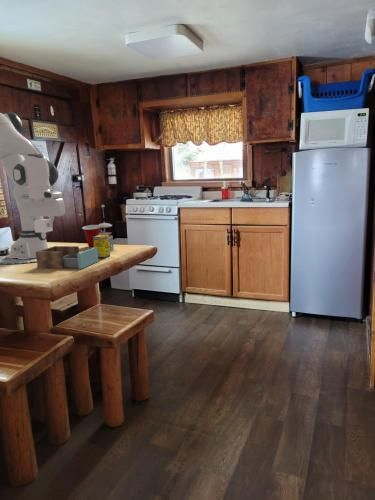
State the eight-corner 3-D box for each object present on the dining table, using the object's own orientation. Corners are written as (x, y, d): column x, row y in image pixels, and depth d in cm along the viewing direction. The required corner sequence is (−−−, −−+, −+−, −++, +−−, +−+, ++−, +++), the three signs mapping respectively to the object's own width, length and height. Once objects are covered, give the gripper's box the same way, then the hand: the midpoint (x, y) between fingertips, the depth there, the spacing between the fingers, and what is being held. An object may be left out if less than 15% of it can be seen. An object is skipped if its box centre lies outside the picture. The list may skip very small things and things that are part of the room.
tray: (55, 268, 172) (54, 253, 171) (74, 260, 186) (72, 247, 185) (81, 268, 168) (79, 253, 167) (98, 261, 183) (97, 247, 181)
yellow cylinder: (106, 258, 190) (104, 236, 188) (94, 258, 191) (92, 236, 189) (110, 256, 196) (109, 234, 194) (99, 256, 197) (98, 234, 195)
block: (35, 232, 161) (33, 220, 160) (42, 230, 166) (41, 219, 165) (45, 232, 160) (44, 220, 159) (52, 230, 164) (51, 219, 163)
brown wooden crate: (37, 268, 175) (35, 251, 174) (56, 261, 189) (54, 246, 187) (62, 268, 171) (60, 252, 170) (79, 261, 185) (78, 246, 184)
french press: (117, 248, 215) (113, 203, 210) (112, 252, 203) (109, 205, 199) (99, 249, 215) (95, 204, 210) (94, 253, 204) (90, 206, 199)
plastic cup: (81, 248, 221) (79, 227, 218) (87, 245, 231) (85, 225, 229) (100, 247, 220) (98, 227, 218) (105, 244, 231) (103, 224, 228)
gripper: (13, 194, 159) (17, 228, 162) (56, 193, 154) (60, 228, 156) (23, 194, 165) (27, 226, 168) (65, 192, 160) (68, 226, 162)
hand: (43, 227), depth 162 cm, fingers closed on block, 5 cm apart
